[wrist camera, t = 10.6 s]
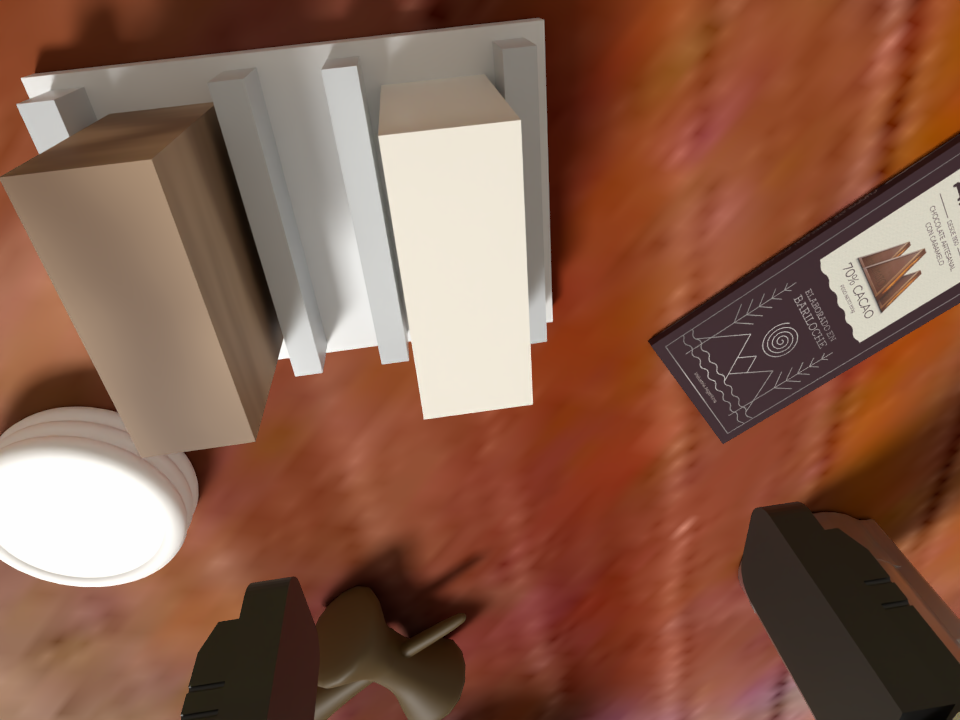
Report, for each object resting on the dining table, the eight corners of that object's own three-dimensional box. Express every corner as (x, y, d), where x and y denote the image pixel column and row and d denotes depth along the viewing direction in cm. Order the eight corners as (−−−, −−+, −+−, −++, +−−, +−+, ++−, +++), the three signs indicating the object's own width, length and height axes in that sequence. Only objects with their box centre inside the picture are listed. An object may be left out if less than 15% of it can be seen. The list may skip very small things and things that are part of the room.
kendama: (202, 677, 45) (411, 541, 39) (306, 718, 50) (505, 603, 44) (180, 769, 40) (414, 630, 34) (297, 805, 45) (519, 688, 39)
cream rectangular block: (484, 74, 24) (521, 120, 18) (500, 303, 30) (532, 404, 23) (380, 85, 24) (378, 136, 17) (416, 314, 30) (423, 419, 23)
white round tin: (-50, 462, 32) (-93, 513, 30) (93, 368, 30) (61, 412, 28) (109, 564, 38) (85, 616, 35) (240, 489, 36) (227, 537, 33)
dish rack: (539, 17, 24) (559, 26, 22) (548, 311, 32) (564, 348, 29) (33, 73, 23) (-17, 91, 21) (161, 364, 31) (136, 408, 28)
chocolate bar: (651, 345, 33) (995, 118, 28) (645, 336, 34) (978, 114, 29) (723, 444, 37) (1030, 260, 33) (716, 433, 38) (1015, 253, 34)
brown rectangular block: (218, 101, 24) (151, 159, 17) (285, 329, 29) (255, 441, 23) (109, 113, 24) (-2, 177, 17) (198, 341, 29) (141, 458, 22)
